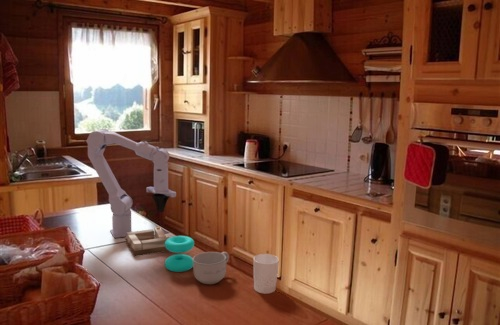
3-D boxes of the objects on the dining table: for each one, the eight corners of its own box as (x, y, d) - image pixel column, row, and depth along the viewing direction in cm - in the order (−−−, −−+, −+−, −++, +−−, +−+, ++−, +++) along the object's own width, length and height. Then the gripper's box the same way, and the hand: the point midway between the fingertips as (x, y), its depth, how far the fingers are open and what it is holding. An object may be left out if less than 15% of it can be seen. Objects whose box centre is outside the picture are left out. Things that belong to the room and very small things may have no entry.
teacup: (204, 291, 130) (204, 266, 128) (185, 278, 138) (186, 255, 137) (240, 279, 139) (240, 256, 137) (220, 267, 147) (221, 245, 145)
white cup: (248, 284, 135) (249, 255, 133) (271, 281, 138) (272, 252, 136) (257, 296, 128) (259, 265, 126) (281, 292, 131) (283, 262, 129)
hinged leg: (154, 234, 171) (154, 226, 170) (160, 233, 172) (160, 226, 171) (159, 243, 161) (159, 235, 160) (166, 242, 162) (165, 234, 161)
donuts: (175, 232, 151) (199, 237, 147) (175, 259, 153) (199, 264, 149) (158, 241, 142) (183, 247, 138) (158, 269, 144) (183, 275, 140)
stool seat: (125, 243, 166) (125, 232, 165) (160, 238, 172) (160, 227, 172) (134, 256, 154) (134, 244, 153) (171, 250, 160) (171, 239, 159)
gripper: (140, 178, 171) (141, 210, 174) (167, 183, 164) (167, 217, 166) (153, 175, 177) (153, 206, 180) (179, 180, 170) (179, 213, 172)
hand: (161, 211), depth 174 cm, fingers closed
